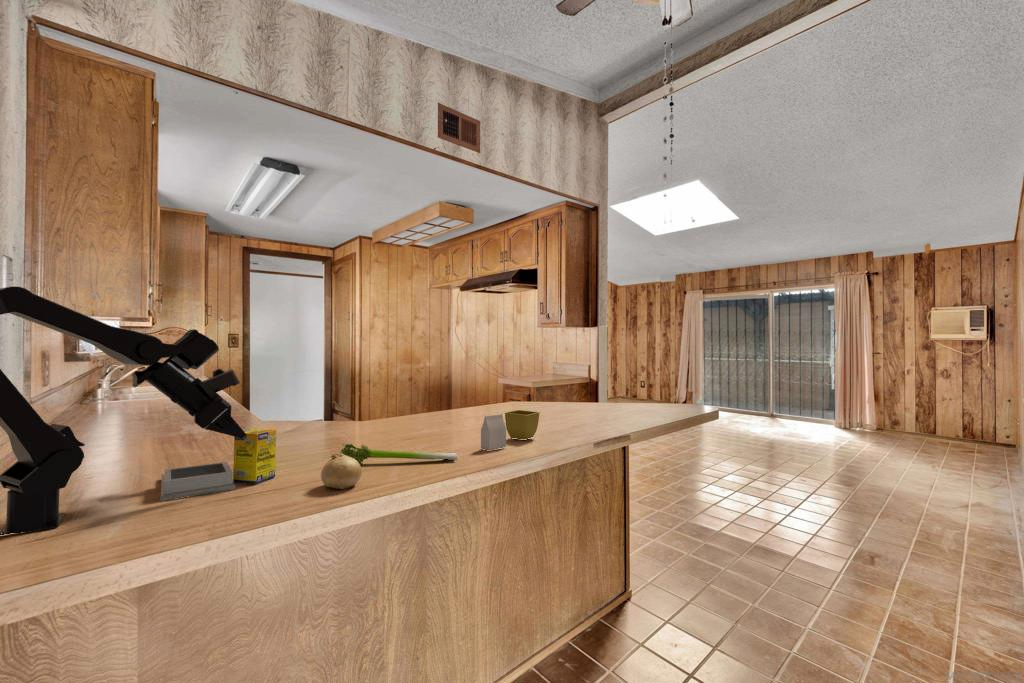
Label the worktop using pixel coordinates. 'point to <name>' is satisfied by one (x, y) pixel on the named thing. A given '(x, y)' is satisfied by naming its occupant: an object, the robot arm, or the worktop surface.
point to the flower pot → (521, 423)
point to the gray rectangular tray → (196, 480)
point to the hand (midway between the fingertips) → (241, 433)
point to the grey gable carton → (493, 432)
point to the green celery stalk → (391, 454)
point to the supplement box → (255, 456)
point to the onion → (341, 472)
